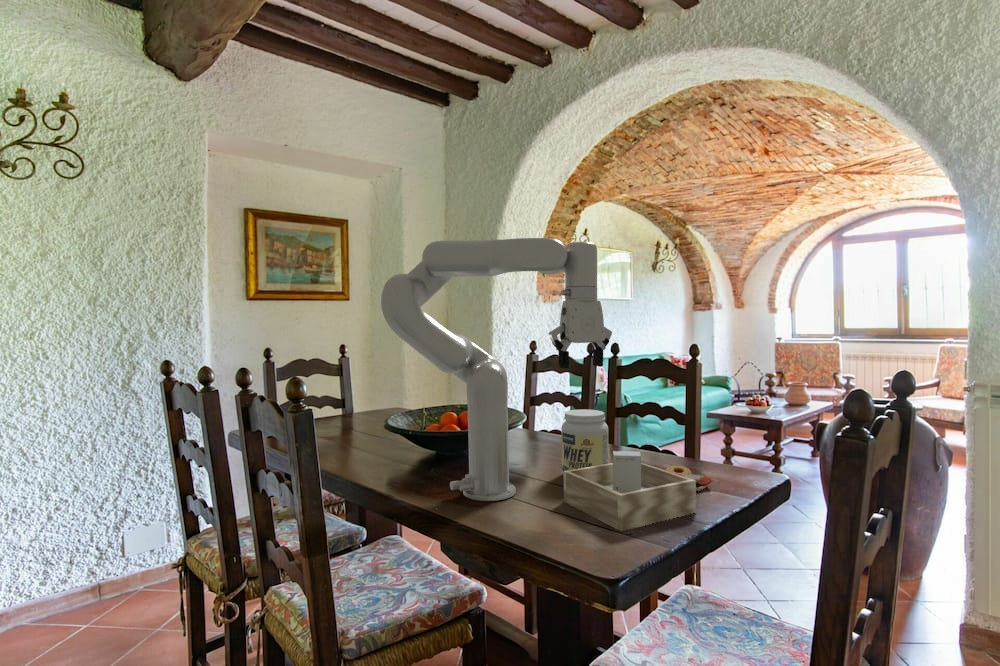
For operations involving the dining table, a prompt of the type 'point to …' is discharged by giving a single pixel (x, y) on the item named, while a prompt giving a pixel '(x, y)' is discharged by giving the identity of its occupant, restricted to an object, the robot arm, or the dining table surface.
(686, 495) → the socket box
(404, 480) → the dining table surface
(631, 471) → the skincare box
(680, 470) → the toy food set
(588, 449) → the supplement tub
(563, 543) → the dining table surface
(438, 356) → the robot arm
